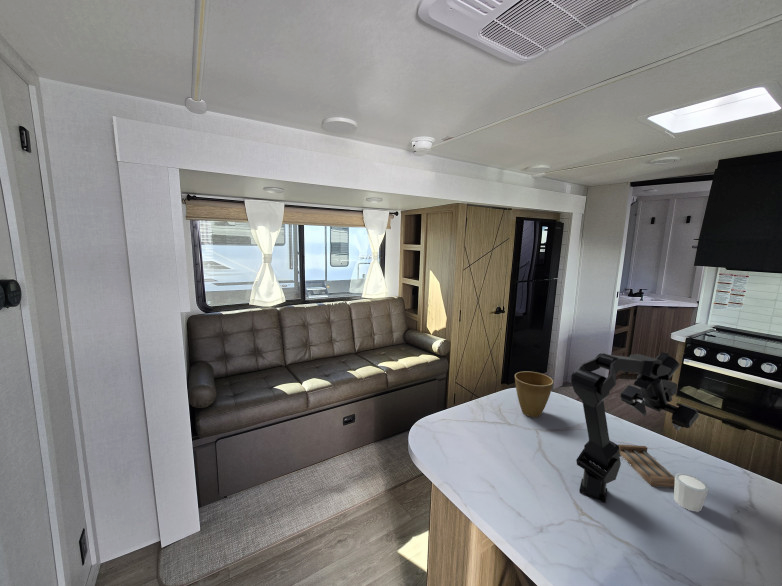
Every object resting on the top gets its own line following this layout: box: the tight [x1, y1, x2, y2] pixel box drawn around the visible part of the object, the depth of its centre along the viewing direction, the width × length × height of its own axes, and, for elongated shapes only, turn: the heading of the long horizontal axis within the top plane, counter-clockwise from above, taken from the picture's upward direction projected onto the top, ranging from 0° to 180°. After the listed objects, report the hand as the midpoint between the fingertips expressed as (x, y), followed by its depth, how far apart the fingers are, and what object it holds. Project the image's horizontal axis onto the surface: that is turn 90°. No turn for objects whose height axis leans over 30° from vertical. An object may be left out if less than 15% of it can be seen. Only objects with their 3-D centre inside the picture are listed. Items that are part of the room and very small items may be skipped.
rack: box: [617, 443, 675, 488], centre depth 102 cm, size 16×9×3 cm, turn 175°
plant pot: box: [514, 370, 554, 418], centre depth 134 cm, size 15×15×16 cm
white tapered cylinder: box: [673, 472, 710, 513], centre depth 87 cm, size 7×7×7 cm
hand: (661, 422), depth 102 cm, fingers open, 9 cm apart
